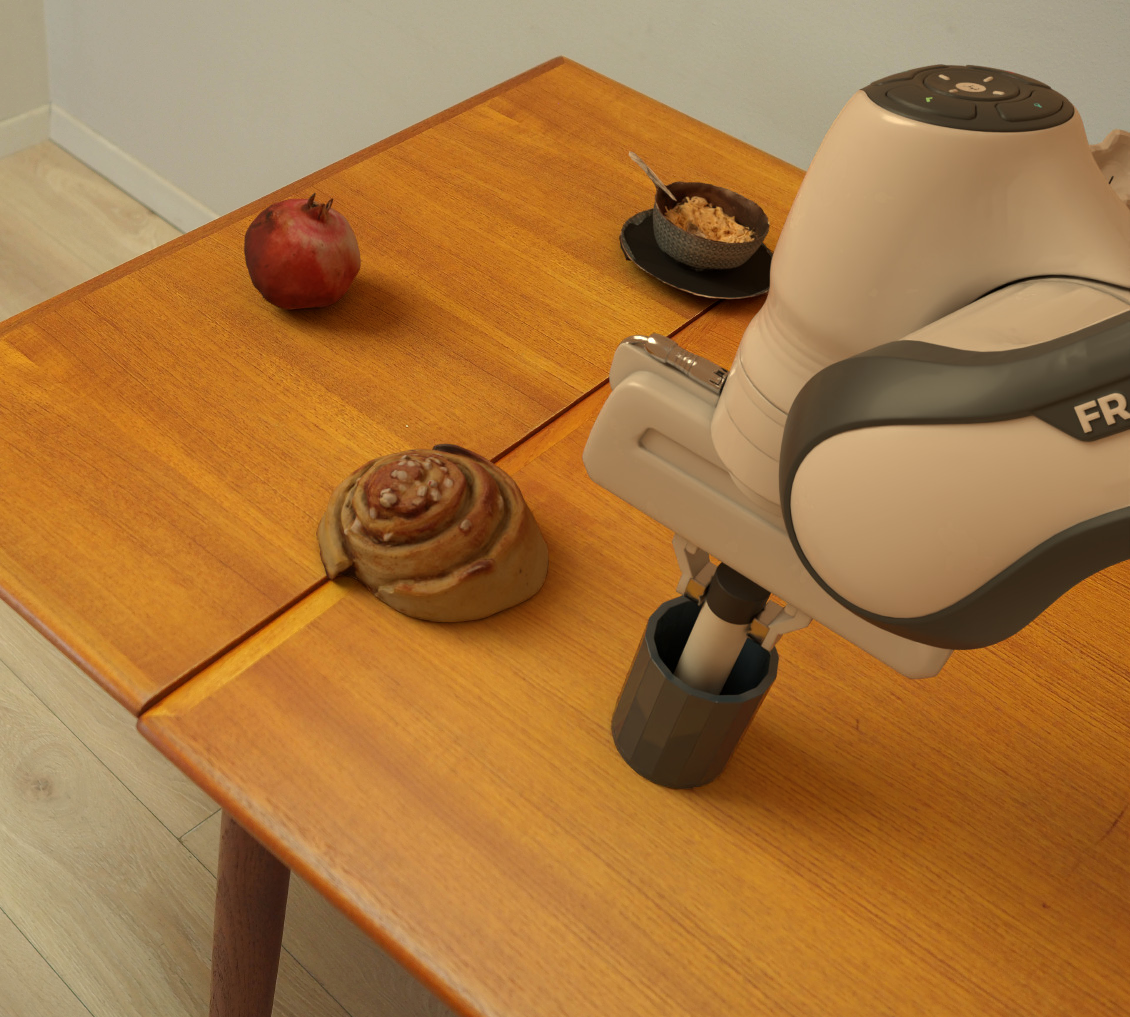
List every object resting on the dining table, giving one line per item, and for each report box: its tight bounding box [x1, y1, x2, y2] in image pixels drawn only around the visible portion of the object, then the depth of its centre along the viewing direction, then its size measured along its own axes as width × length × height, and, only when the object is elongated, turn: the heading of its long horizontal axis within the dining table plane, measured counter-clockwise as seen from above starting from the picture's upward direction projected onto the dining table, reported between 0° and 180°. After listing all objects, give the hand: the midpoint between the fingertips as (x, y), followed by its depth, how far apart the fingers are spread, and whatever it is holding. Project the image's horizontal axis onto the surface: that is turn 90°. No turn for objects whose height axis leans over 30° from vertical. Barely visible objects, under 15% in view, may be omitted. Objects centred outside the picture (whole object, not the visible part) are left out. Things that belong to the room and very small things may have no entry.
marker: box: [673, 561, 772, 695], centre depth 64 cm, size 3×3×14 cm
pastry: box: [315, 443, 550, 623], centre depth 75 cm, size 13×15×8 cm
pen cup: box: [610, 595, 780, 790], centre depth 67 cm, size 7×7×9 cm
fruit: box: [243, 192, 362, 310], centre depth 92 cm, size 9×10×10 cm
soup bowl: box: [618, 150, 774, 300], centre depth 104 cm, size 15×16×7 cm
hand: (728, 615), depth 62 cm, fingers closed on marker, 3 cm apart
